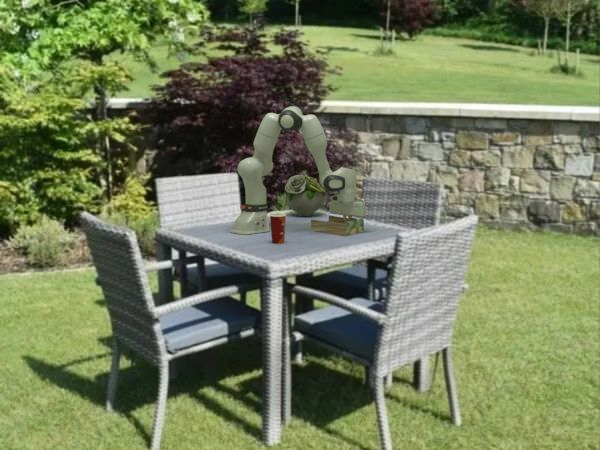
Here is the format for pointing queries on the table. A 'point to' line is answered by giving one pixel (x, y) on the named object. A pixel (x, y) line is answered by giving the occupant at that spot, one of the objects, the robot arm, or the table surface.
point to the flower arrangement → (304, 194)
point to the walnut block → (350, 219)
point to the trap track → (338, 226)
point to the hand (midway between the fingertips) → (347, 223)
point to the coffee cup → (278, 226)
